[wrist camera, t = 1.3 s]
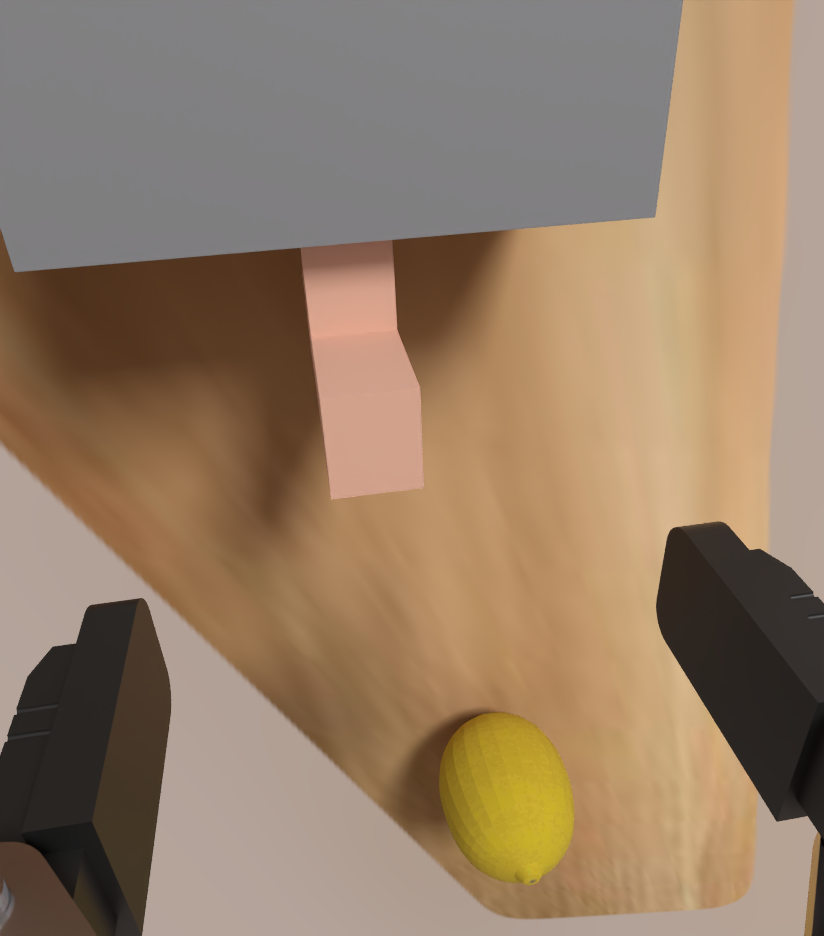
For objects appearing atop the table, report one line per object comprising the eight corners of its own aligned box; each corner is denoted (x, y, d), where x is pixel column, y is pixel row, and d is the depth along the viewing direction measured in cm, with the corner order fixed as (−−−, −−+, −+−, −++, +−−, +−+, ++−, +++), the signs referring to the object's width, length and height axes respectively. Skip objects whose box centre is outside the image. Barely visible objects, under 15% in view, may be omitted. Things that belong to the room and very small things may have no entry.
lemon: (437, 767, 38) (474, 936, 31) (414, 693, 35) (450, 863, 28) (545, 737, 38) (606, 898, 31) (532, 661, 35) (596, 821, 28)
